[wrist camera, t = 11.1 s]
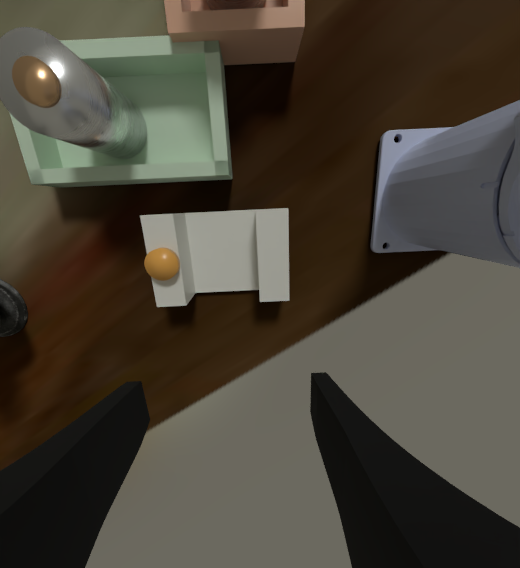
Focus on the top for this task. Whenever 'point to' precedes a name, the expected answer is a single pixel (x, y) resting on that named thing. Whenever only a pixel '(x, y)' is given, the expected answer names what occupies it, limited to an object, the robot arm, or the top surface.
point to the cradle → (217, 254)
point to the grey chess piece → (11, 310)
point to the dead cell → (234, 4)
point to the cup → (241, 29)
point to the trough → (146, 116)
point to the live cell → (66, 96)
